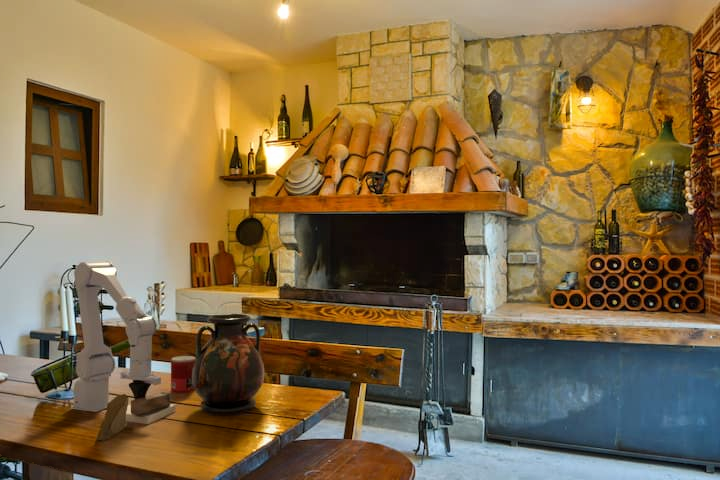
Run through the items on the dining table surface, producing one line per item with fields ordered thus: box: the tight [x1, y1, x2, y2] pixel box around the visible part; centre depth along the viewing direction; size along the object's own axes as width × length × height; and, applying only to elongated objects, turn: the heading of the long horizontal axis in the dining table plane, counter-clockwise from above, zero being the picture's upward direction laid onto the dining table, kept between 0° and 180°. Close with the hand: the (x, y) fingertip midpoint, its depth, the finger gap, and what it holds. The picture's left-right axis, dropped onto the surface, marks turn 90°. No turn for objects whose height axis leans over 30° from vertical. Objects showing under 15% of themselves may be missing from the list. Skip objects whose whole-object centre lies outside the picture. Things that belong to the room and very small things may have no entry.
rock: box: [95, 393, 129, 441], centre depth 142 cm, size 11×9×10 cm
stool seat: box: [126, 403, 176, 425], centre depth 157 cm, size 13×13×2 cm
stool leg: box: [130, 391, 172, 415], centre depth 156 cm, size 12×3×4 cm, turn 148°
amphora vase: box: [192, 313, 265, 416], centre depth 165 cm, size 22×22×28 cm
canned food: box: [170, 355, 196, 394], centre depth 184 cm, size 8×8×11 cm
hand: (139, 406), depth 156 cm, fingers closed
